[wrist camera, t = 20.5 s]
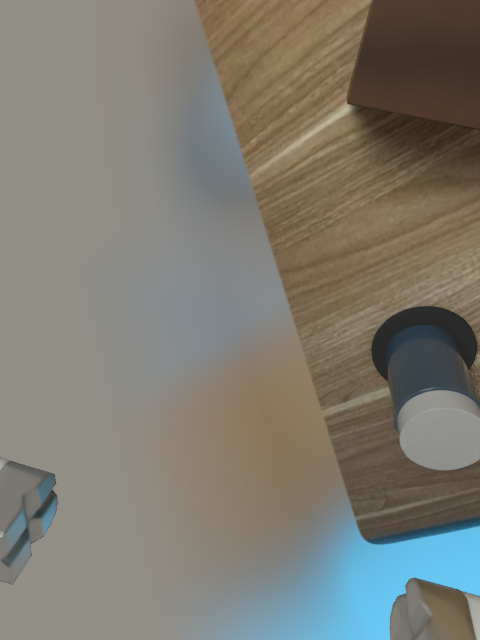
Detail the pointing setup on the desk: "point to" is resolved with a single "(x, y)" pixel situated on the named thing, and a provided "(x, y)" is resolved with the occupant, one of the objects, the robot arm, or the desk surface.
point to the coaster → (424, 317)
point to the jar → (433, 398)
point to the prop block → (421, 60)
